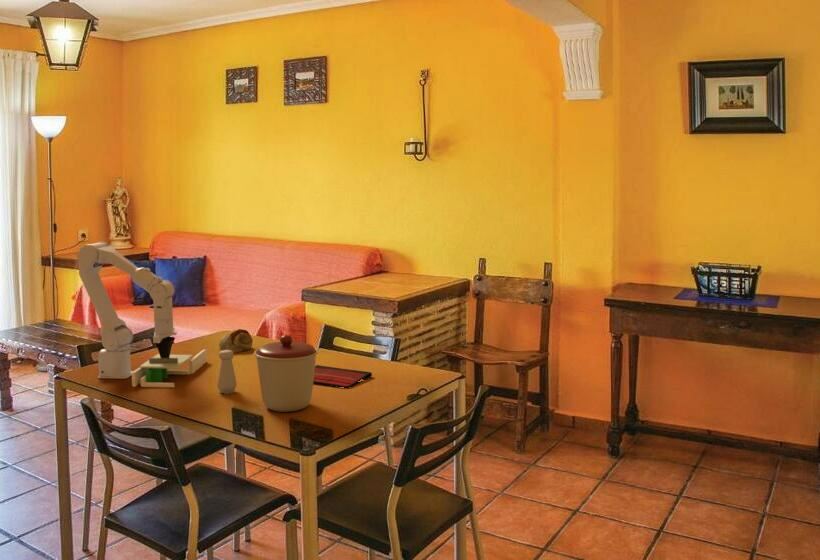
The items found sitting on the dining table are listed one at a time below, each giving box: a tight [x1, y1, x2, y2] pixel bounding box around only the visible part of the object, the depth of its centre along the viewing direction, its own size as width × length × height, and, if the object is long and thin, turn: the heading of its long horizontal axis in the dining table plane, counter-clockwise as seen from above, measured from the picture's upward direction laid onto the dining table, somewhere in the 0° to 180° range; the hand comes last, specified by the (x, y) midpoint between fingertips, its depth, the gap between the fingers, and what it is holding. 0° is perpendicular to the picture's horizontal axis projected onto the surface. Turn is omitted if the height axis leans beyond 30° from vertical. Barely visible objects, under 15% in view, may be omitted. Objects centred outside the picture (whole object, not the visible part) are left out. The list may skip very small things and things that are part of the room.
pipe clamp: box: [146, 368, 168, 383], centre depth 252 cm, size 11×4×5 cm, turn 178°
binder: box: [313, 364, 373, 389], centre depth 255 cm, size 16×2×21 cm
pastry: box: [218, 328, 254, 354], centre depth 295 cm, size 14×12×8 cm
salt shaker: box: [217, 350, 237, 395], centre depth 238 cm, size 6×6×13 cm
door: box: [139, 353, 194, 370], centre depth 255 cm, size 12×16×2 cm
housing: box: [131, 349, 207, 388], centre depth 259 cm, size 14×32×4 cm, turn 178°
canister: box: [253, 334, 319, 413], centre depth 224 cm, size 18×18×21 cm
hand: (165, 360), depth 253 cm, fingers closed
